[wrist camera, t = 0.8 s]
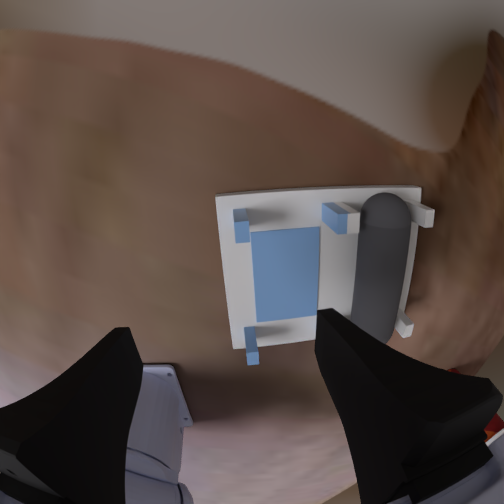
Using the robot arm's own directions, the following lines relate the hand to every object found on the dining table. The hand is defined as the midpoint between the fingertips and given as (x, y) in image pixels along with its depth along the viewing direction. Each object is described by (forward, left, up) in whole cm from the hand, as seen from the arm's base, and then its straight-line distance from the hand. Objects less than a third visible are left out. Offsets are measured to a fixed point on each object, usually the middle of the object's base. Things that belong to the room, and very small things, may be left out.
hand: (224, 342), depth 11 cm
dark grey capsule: (-2, -11, -9) cm, 14 cm away
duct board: (-2, -7, -10) cm, 13 cm away
